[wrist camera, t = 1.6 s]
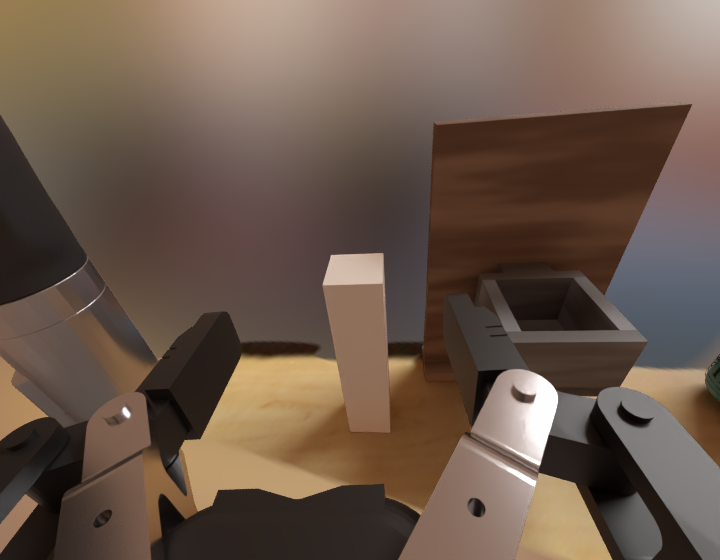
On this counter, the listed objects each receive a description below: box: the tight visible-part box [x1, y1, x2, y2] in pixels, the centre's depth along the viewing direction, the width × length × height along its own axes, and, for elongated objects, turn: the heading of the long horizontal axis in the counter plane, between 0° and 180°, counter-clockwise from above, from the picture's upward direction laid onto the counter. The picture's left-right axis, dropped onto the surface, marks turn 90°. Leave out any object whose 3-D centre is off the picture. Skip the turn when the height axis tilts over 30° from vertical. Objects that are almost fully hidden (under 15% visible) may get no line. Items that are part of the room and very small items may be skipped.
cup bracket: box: [422, 102, 692, 396], centre depth 25 cm, size 12×16×26 cm
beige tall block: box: [323, 253, 390, 433], centre depth 27 cm, size 4×4×18 cm
